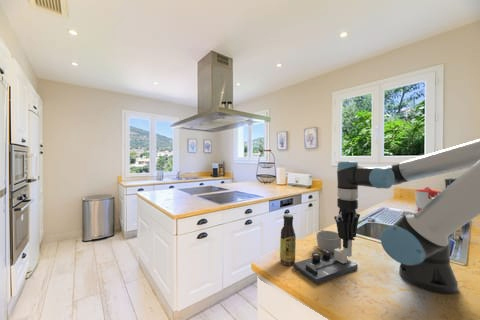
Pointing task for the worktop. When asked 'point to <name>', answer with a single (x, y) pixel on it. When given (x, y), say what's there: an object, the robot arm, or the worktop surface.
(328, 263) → the board
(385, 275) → the worktop surface
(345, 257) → the fader
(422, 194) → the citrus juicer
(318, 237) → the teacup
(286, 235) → the sauce bottle
